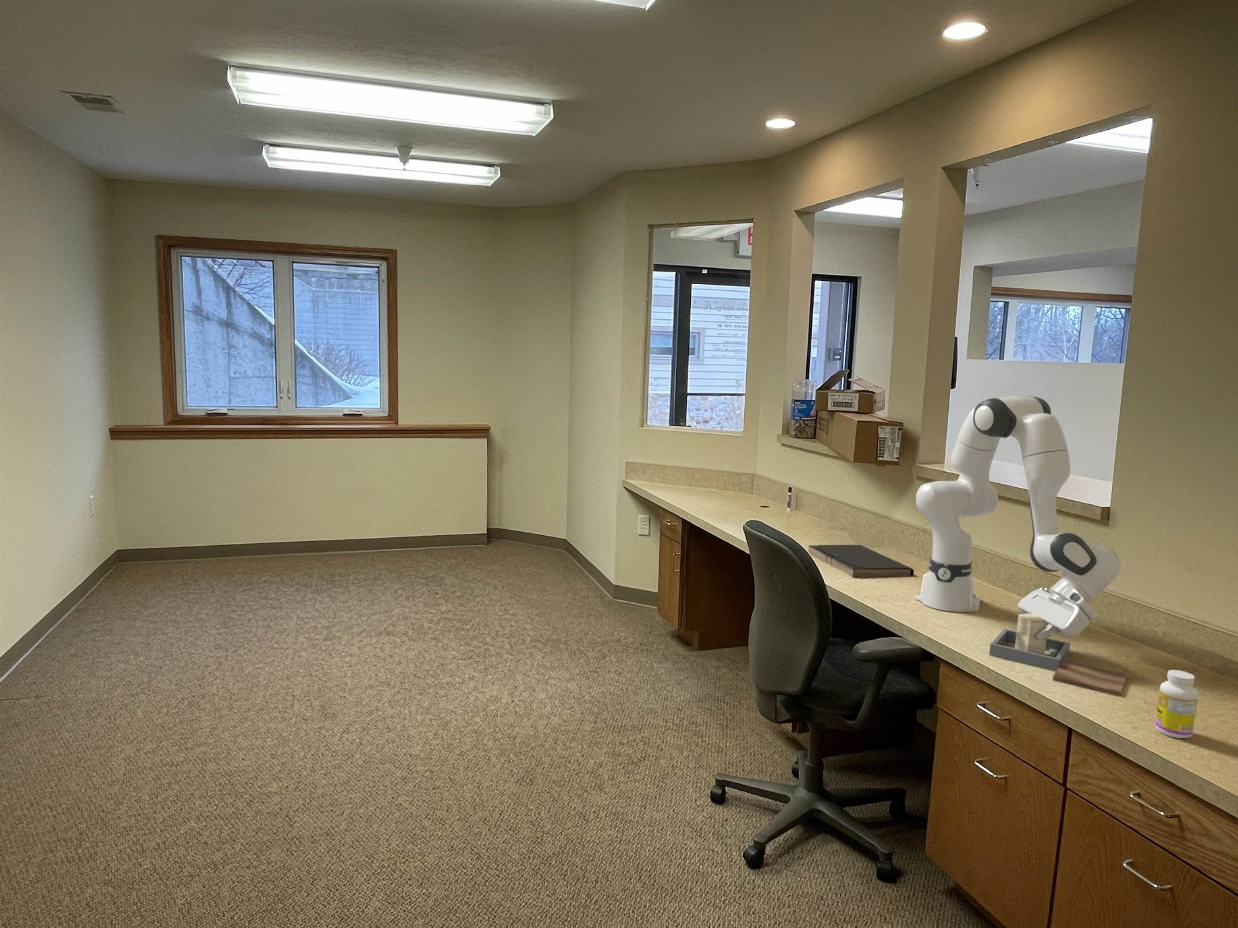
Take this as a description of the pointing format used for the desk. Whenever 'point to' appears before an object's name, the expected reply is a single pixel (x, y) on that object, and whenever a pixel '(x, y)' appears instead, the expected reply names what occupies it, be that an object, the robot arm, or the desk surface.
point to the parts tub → (1043, 661)
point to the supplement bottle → (1177, 705)
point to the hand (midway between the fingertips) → (1029, 634)
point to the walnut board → (1090, 677)
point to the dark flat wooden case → (859, 561)
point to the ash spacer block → (1030, 633)
